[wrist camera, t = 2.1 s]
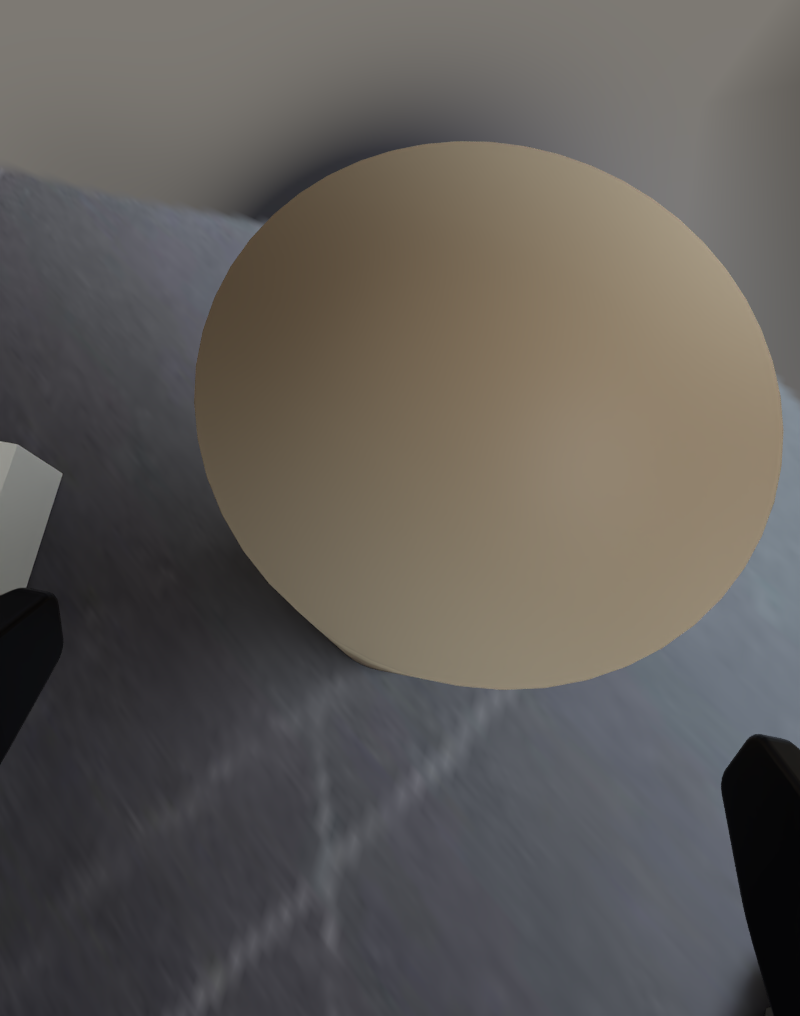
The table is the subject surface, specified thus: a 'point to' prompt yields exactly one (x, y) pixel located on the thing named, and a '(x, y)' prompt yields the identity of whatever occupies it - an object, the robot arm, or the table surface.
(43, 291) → the table surface
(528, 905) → the table surface
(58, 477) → the socket board
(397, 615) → the plug
